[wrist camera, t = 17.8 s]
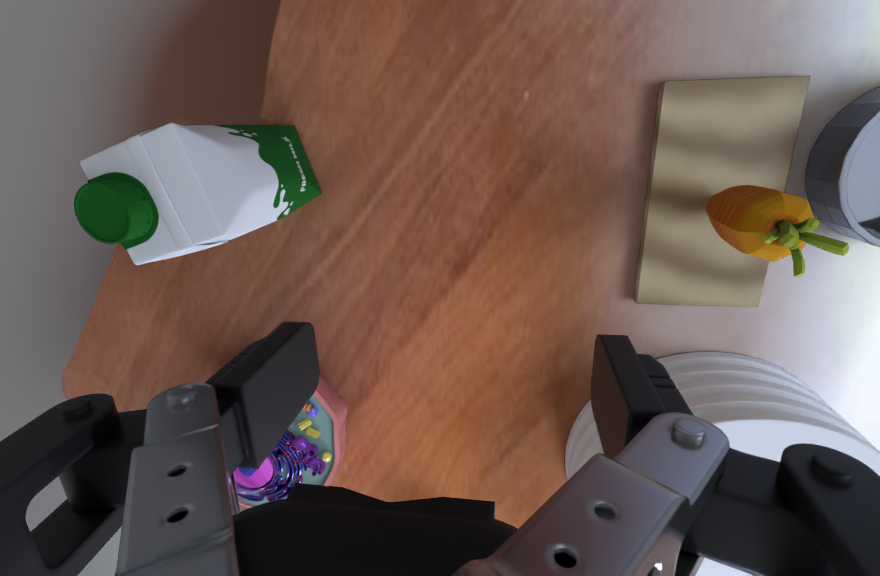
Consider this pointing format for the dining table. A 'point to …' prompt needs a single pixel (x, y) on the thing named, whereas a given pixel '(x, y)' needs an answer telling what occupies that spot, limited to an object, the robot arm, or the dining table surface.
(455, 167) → the dining table surface
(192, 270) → the dining table surface
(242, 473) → the cell model
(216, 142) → the milk carton
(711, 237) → the board
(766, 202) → the carrot
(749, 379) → the plate stack
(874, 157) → the pan
